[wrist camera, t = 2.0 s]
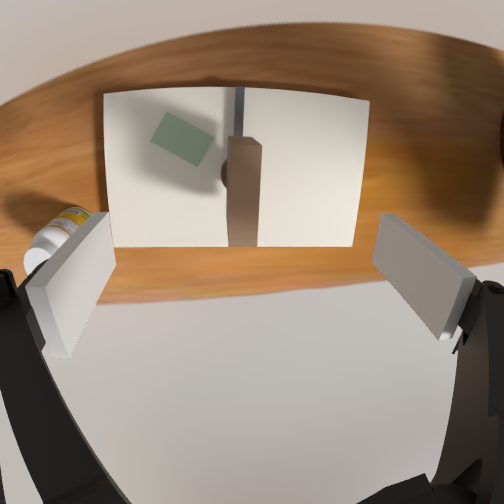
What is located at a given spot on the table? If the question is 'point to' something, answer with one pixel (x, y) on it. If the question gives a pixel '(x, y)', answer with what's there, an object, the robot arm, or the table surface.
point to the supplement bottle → (53, 236)
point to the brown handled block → (242, 181)
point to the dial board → (215, 153)
